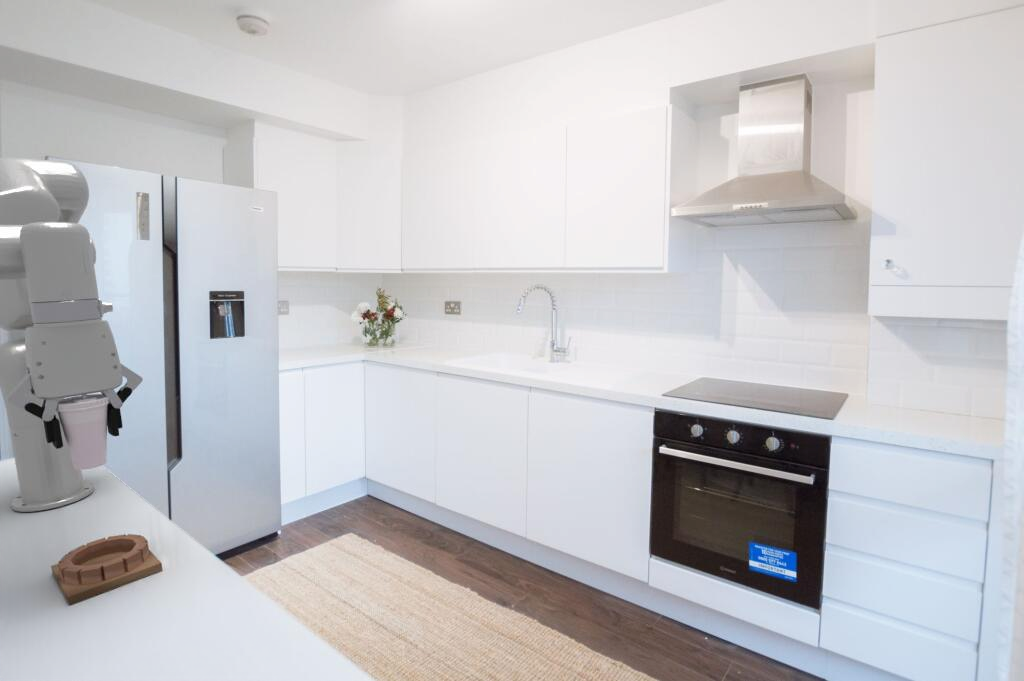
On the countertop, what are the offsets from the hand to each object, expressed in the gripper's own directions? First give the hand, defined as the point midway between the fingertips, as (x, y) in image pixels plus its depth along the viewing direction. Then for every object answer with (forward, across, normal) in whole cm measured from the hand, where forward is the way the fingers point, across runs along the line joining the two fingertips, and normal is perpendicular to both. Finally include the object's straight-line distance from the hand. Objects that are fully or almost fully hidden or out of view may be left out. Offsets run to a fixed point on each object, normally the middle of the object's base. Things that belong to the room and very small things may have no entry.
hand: (86, 439), depth 81 cm
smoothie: (+4, 0, 0) cm, 4 cm away
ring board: (+20, 0, 0) cm, 20 cm away
